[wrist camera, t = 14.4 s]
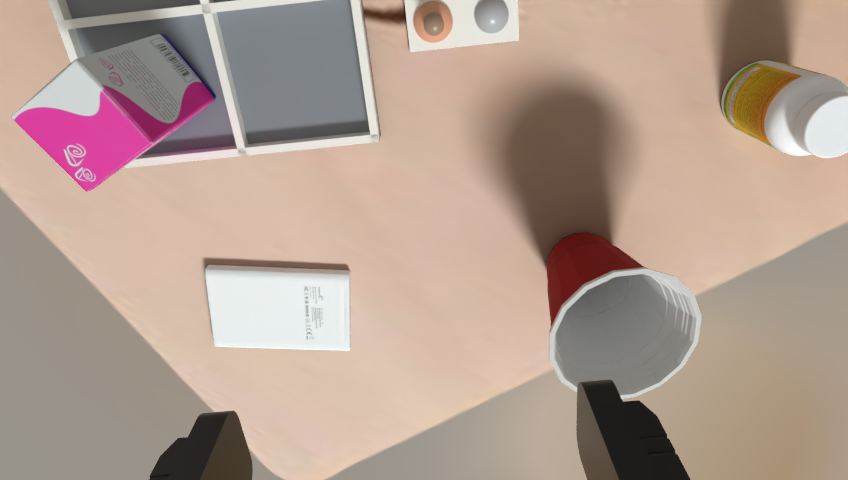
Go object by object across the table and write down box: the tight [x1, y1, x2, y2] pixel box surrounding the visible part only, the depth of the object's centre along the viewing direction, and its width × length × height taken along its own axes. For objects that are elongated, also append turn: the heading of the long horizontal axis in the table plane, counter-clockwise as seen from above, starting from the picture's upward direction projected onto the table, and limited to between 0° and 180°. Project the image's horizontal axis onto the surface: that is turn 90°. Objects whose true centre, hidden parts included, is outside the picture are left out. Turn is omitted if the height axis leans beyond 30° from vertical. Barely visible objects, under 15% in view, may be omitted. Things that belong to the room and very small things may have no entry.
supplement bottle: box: [721, 60, 848, 158], centre depth 40 cm, size 5×5×10 cm
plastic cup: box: [547, 233, 702, 399], centre depth 45 cm, size 11×11×12 cm
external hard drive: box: [205, 265, 351, 351], centre depth 52 cm, size 2×8×12 cm
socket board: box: [49, 0, 381, 168], centre depth 40 cm, size 21×21×2 cm
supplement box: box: [11, 33, 216, 192], centre depth 37 cm, size 6×6×12 cm
